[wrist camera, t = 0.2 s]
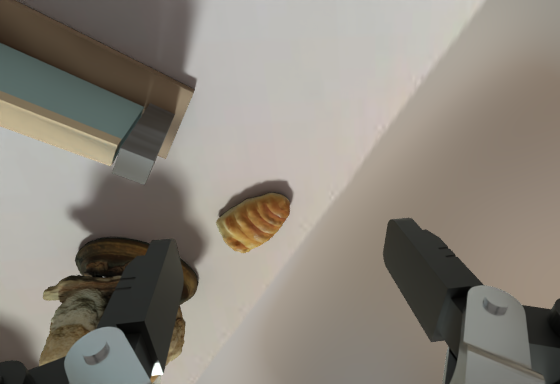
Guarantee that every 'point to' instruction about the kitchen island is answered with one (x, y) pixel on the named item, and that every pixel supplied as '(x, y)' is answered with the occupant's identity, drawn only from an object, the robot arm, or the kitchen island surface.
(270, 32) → the kitchen island surface
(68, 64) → the gate frame
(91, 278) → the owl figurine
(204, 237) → the kitchen island surface
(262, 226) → the pastry
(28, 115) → the gate panel
